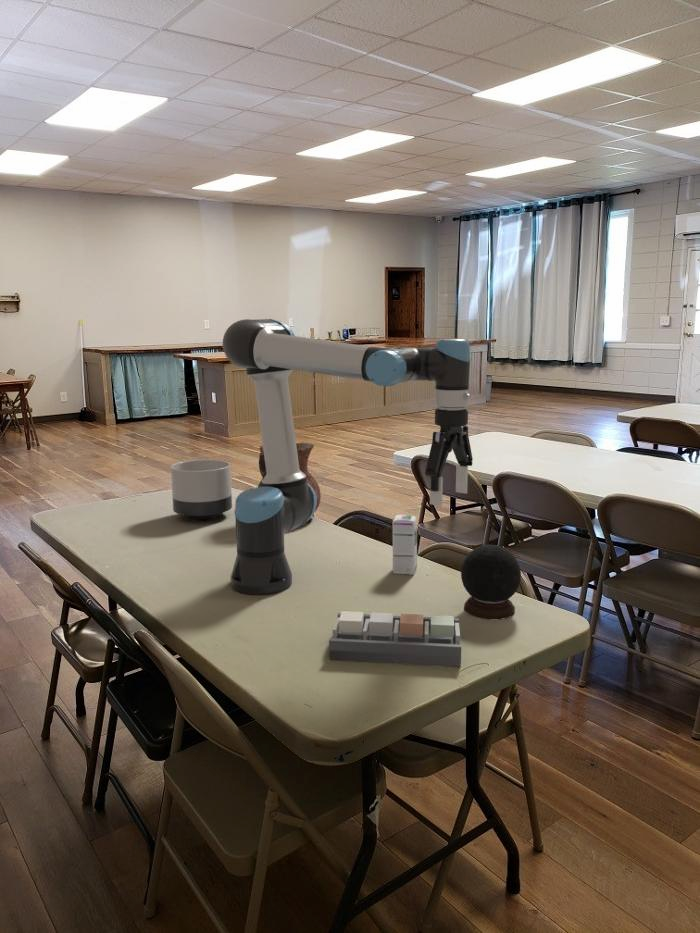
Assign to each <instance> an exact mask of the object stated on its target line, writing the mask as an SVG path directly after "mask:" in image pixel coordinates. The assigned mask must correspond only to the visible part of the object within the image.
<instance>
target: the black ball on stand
mask: <svg viewBox="0 0 700 933" xmlns="http://www.w3.org/2000/svg"><path fill="white" fill-rule="evenodd" d="M460 576H461V577H460V578H461V582H462V585H463V587H464V589H465V591H466V592H467V593H468V595H469V596H470V597H468V598H467V600H466V601H465V603H464V604H463V605H464V606H463V607H464V609H463V610H464V611H465V612H466V613H467V614H469V615H471V616H472V617H475V618H478V619H483V620H490V619H498V620H504V619H503V618H505V619H509V618H511V617H512V616H514V615H515V610H516V607H515V605H514V604H513V602H512V601H511V600H510V599H511V598H512V597H513V596H514V595H515V593H516V592H517V590H518V589H519V587H520V585H521V579H522V571H521V567H520V563H519V562H518V560H517V558H516V557H515V555H514V554H513V553H512V552H510V550H508V549H507V548H505V547H503V546H500V545H496V544H483V545H481V546H477V547H475V548H474V549H472V550H471V551H470V552H469V553H468V554H467V555H466V557H465V558H464V560H463V562H462V565H461V570H460ZM510 616H511V617H510ZM508 617H509V618H508Z"/></svg>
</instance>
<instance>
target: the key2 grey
mask: <svg viewBox="0 0 700 933" xmlns="http://www.w3.org/2000/svg"><path fill="white" fill-rule="evenodd" d="M370 615H371V616H370V621H369V633H376V634H392V631H393V616H394V613H392V612H370Z"/></svg>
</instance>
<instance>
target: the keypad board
mask: <svg viewBox="0 0 700 933" xmlns="http://www.w3.org/2000/svg"><path fill="white" fill-rule="evenodd" d="M340 615H341V612H340V613H339V612H338V613H337V616H336V618H335V621H334V625H333V628H332V638H329V645H328V647H329V648H328V649H329V651H328V652H329V653H328V654H329V657H328V658H329V661H343V662H363V663H381V664H384V663H385V664H400V665H417V666H419V665H421V666H436V665H437V666H438V665H442V666H443V667H456V666H461V667H462V644H461V630H460V619H459V618H457V617H456V618H454V637H440V636H431V616H423V636H419V635H400V617H401V615H393V631H392V634H376V633H369V621H370V616H371V614H367V613H366V614H365V613H364V625H363V629H362V633H355V632H339V618H340Z"/></svg>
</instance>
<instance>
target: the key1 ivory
mask: <svg viewBox="0 0 700 933" xmlns="http://www.w3.org/2000/svg"><path fill="white" fill-rule="evenodd" d="M340 613H341V615H340V618H339V632H355V633H362V629H363V625H364V614H365V612H364V611H349V610H347V611H345V610H342V611H341V612H340Z"/></svg>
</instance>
